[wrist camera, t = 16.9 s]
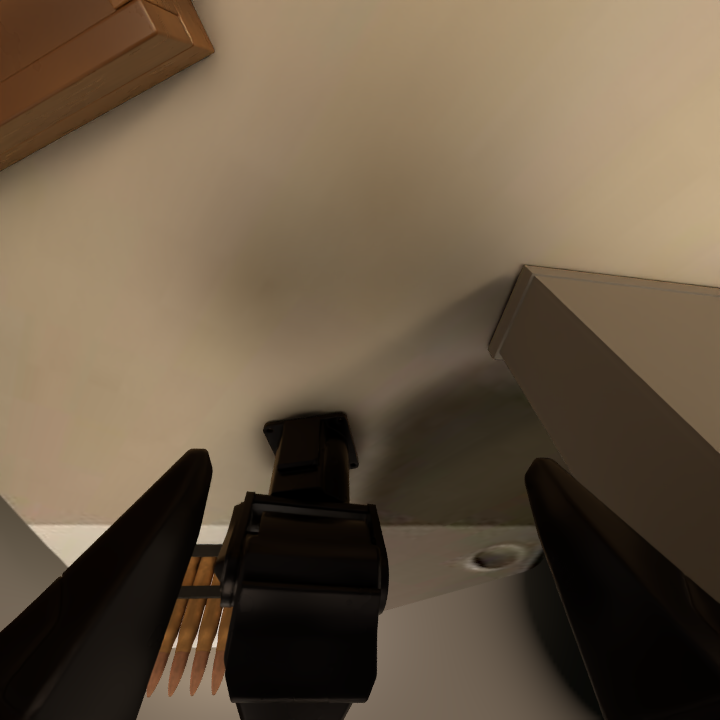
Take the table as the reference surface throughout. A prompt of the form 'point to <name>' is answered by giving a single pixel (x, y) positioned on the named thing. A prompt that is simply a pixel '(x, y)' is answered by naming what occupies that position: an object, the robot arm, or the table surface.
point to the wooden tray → (85, 62)
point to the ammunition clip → (195, 624)
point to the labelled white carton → (628, 399)
